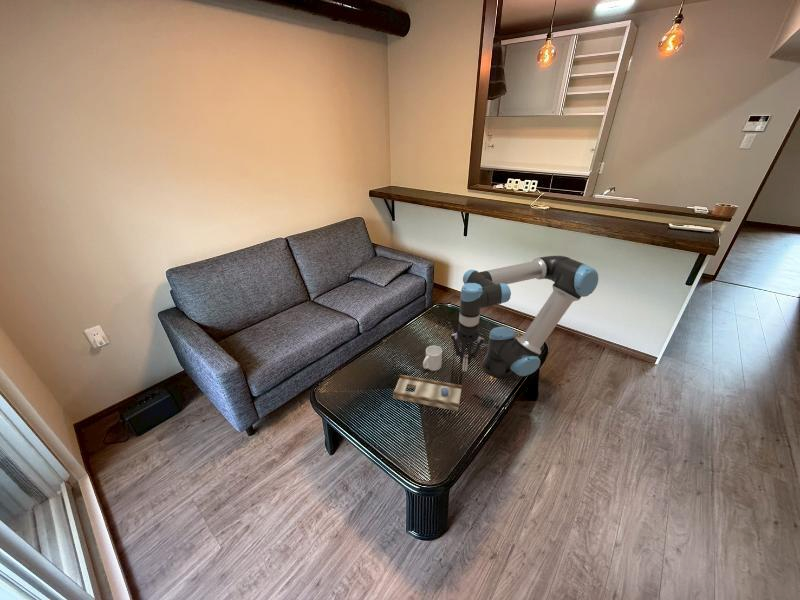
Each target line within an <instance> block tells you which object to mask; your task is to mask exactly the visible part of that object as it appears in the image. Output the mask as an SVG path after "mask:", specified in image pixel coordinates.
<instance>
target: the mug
mask: <svg viewBox="0 0 800 600" xmlns="http://www.w3.org/2000/svg"><path fill="white" fill-rule="evenodd" d="M442 357H443V349H442V348H441V347H440V346H438V345H429V346H427V347H426V348H425V358H424V359H423V361H422V367H423V369H424V370H425V369H426V370H429V371H431V372H437V371H439V370H440V369H441V368H442V365H443V364H442V363H443V361H442V360H443V358H442Z"/></svg>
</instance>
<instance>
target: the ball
mask: <svg viewBox="0 0 800 600" xmlns="http://www.w3.org/2000/svg"><path fill="white" fill-rule="evenodd" d="M441 393H442V395H447V394H448V393H449V390H448V389H447V388H445V387H444V388H442V389H441Z"/></svg>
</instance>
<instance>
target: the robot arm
mask: <svg viewBox="0 0 800 600" xmlns="http://www.w3.org/2000/svg"><path fill="white" fill-rule="evenodd" d="M534 279H535V280H536V279H537V280H549V281H552V282H553V284H552V286H551V287H552V292H551V294H550V296H548V298H547V300H546V301H545V303H544V304H543V306H542V307H541V308H540V310H539V311H538V313H537V314H536V316H535V317H534V319H533V320H532V321H531V323H530V325H529V326H528V328H527V329H526V331H525V332H524V333H523V335H522V336H520V337H517V338H516V331H515V329H512V328H509V327H507V326H497V327H494V328H492V329H491V330H490V332H489V336H488V342H487V343H488V344H487V352H486V355H484V358H483V359H482V363H481V368H482V370H483V371H484V373H486V374H487V375H489V376H490V377H493V378H498V379H502V378H503V379H505V378H508V377H510V376H511V375H512V374H513V373H514V374H516V375H517V376H519V377H526V376H529V375H532V374H533V373H535V372H536V371H537V370H538V369H539V368H540V366H541V359H540V358H539V357H540V356H541V354H542V350H541V348H542V346H543V345H544V343H545V342H546V340H547V339H548V337H550V335H551V333H552V332H553V331H554V330H555V328H556V327H557V325H558V324H559V322H560V321H561V319H562V317H563V316H564V315H565V314H566V312H568V310H569V308H570V307H571V305H572V304H573V303H574V302H576V301H577V302H578V301H580V300H581V298H582V297H588V296H589V295H591V294H592V293H594V291H595V290H596V289H597V285H598V283H599V273H598V271H597V270H596V269H595V268H593V267H592V266H590V265H588V264H586V263H583V262H580V261H577V260H575V259H573V258H571V257H568V256H564V255H549V256H548V255H546V256H540V257H535V258H533V260H532V261H527V262H523V263H518V264H513V265H508V266H503V267H498V268H497V267H496V268H494V269H489V270H483V271H478V270H476V269H469V270H467V271H466V272H464V273H463V276H462V283H463V285H462V287H461V291H460V301H459V303H460V304H459V316H458V329H457V332H455V333H454V332H453V333H451V335H450V338H451V340H452V341H453V346H454V351H455V355H456V356H457V357H460V361H459V363H460V364H462V369H461V370H462V372H464V371H465V372H467V371H468V365H471V361H472V359H476V357H477V354H478V353H479V351H480V348H481V345H482V344H484V342H485V341H484V340H485V337H484V336H480V334H479V323H480V314H481V309H483V308H486V307H492V306H497V305H501V304H503V303H504V304H505V303H507V302H509V300H511V295H512V292H511V288H510V287H509V284H516V283H520V282H524V281H529V280H534ZM589 297H590V296H589ZM458 338H459V339H460V341H461V349H460V346H459V341H458ZM475 341H477V343H476V345H475V347H474V350H473V343H474V342H475ZM466 343H467V344H468V348H467V349H468V351H467V354H465V347H466ZM472 351H473V352H472Z"/></svg>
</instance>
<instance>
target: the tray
mask: <svg viewBox="0 0 800 600" xmlns="http://www.w3.org/2000/svg"><path fill="white" fill-rule="evenodd" d="M444 387H445V388H447V389H448V390H449V393H448V394H447V395H442V393H441V389H442V388H444ZM462 387H463V385H462V384H457V383H450V382H446V381H445V382H444V381H440V380H434V379H427V378H423V377H416V376H410V375H406V374H404V375H403V374H399V379H398V380H397V383H396V386H395V389H394V390H392V399H395V400H398V401H399V400H400V401H403V402H409V403H415V404H419V405H425V406H429V407H434V408H440V409H445V410H449V411H454V412H459V407H460V402H461V397H462V396H461V395H462V389H463V388H462ZM408 389H413V390H414V391H408Z"/></svg>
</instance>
